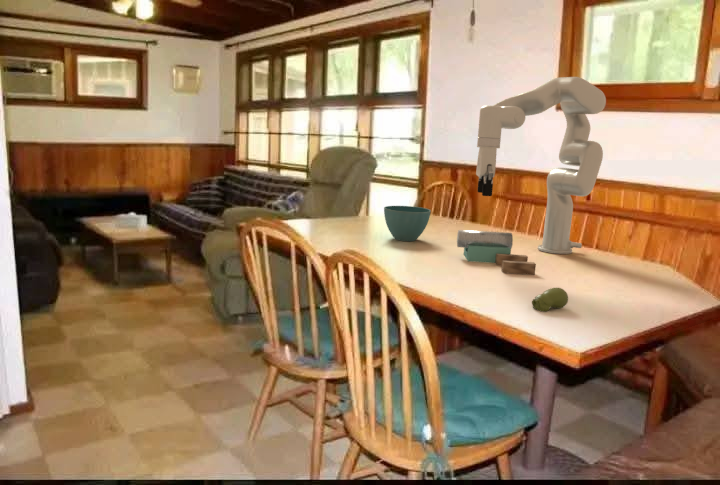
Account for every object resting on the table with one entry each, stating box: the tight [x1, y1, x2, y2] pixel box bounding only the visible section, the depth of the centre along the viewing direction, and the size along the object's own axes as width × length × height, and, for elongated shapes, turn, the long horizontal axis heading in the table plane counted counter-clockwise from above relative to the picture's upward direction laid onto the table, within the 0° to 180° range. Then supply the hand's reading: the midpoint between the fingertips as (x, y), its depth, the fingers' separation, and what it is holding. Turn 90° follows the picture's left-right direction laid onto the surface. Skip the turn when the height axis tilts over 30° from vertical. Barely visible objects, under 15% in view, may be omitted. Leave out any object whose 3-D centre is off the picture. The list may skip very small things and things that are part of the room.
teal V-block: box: [463, 245, 512, 264], centre depth 204 cm, size 14×11×5 cm
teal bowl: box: [383, 205, 431, 242], centre depth 232 cm, size 18×18×12 cm
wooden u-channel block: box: [494, 253, 537, 276], centre depth 192 cm, size 10×13×4 cm
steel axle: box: [456, 229, 514, 250], centre depth 204 cm, size 18×6×6 cm, turn 88°
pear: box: [531, 287, 569, 312], centre depth 150 cm, size 6×5×10 cm
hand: (484, 194), depth 201 cm, fingers open, 9 cm apart
